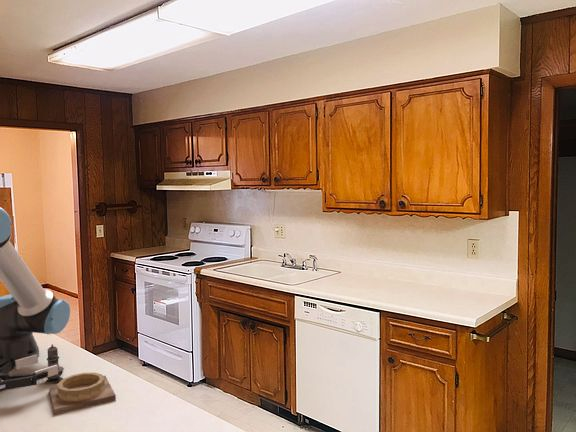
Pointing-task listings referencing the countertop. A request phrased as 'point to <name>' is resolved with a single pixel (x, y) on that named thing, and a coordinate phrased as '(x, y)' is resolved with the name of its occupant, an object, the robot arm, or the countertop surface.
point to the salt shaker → (51, 362)
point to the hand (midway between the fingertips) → (47, 363)
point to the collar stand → (80, 392)
